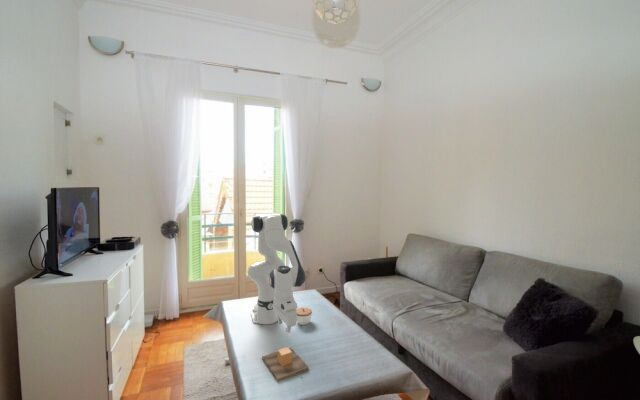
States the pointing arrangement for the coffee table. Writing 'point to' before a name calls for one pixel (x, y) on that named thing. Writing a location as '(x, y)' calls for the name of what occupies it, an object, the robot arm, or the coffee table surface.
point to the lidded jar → (303, 315)
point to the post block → (286, 370)
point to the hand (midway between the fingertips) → (284, 327)
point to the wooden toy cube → (284, 356)
